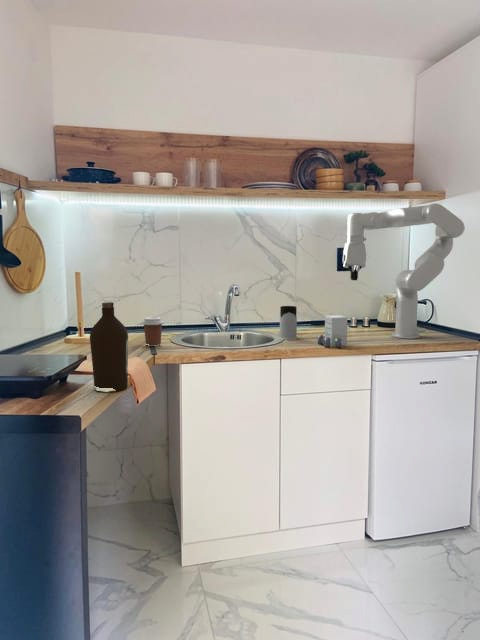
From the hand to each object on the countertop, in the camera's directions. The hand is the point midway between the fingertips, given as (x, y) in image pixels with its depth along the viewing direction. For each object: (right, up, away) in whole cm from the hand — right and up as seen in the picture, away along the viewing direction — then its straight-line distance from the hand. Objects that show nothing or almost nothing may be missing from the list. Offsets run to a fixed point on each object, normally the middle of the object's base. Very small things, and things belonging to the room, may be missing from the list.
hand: (354, 280), depth 218 cm
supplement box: (-12, -30, -16) cm, 36 cm away
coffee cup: (-91, -30, -15) cm, 97 cm away
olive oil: (-91, -39, -82) cm, 128 cm away
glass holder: (-31, -27, +4) cm, 41 cm away
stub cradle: (-15, -30, -17) cm, 38 cm away
